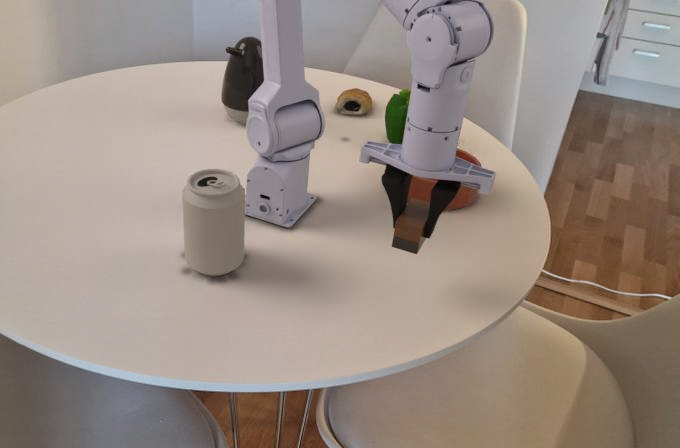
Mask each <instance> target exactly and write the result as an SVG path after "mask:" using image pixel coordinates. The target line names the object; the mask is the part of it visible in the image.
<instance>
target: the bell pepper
mask: <svg viewBox="0 0 680 448" xmlns="http://www.w3.org/2000/svg"><path fill="white" fill-rule="evenodd" d="M410 94H411V89H408V88H404V89H401V90H399V91H398V93H393V95H392V96H391V97H390V99H389V100H388V102H387V105H386V106H385V111H384V125H385V133H386V139H387V140H388V143H389V144H400V145H402V143H403V137H404V130H405V124H406V118H407V113H408V107H409V100H410Z"/></svg>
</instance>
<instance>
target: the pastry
mask: <svg viewBox="0 0 680 448" xmlns="http://www.w3.org/2000/svg"><path fill="white" fill-rule="evenodd" d="M372 109H373V98H372V96H371V95H370V94H369V92H368V91H367V90H363V89H360V88H358V87H354V88H351V89H350V88H349V89H346V90H343V91H342V92H341V93H340V95H339V96H338V97H337V99H336V104H335V110H336V112H337V113H338V114H339V115H345V116H359V117H361V116H366V115H368V114H370V113H371V112H372V111H371V110H372Z"/></svg>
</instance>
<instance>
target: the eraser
mask: <svg viewBox="0 0 680 448" xmlns="http://www.w3.org/2000/svg"><path fill="white" fill-rule="evenodd" d="M429 208H430V203H429V202H425V201H421V200H418V199H414V198H411V200H410V201H409V202H407V206H406V207H405V209H404V210H403V212H402V213H401V215H400V216H399V218H398V219H397V221H396V224H395V229H393V237H392V242H391V247H392V248H394V249H397V250H401V251H404V252H407V253H410V254H414V255H418V254H419V252H420V250H421V248H422V247H423V244H424V243H425V241H426V239H427V238H425V237H424V230H425V226H426V223H427V219H428V215H429Z"/></svg>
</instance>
